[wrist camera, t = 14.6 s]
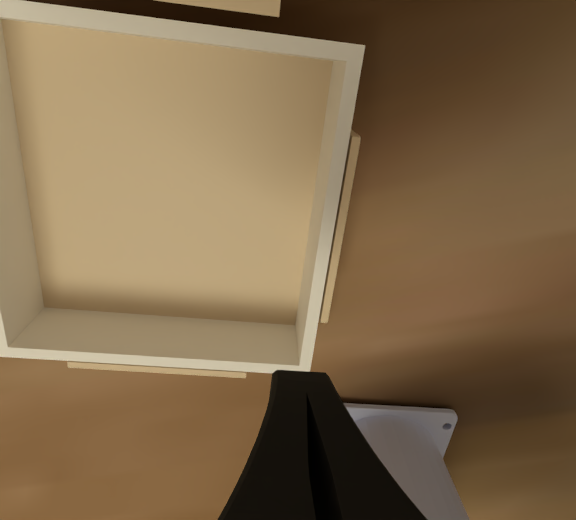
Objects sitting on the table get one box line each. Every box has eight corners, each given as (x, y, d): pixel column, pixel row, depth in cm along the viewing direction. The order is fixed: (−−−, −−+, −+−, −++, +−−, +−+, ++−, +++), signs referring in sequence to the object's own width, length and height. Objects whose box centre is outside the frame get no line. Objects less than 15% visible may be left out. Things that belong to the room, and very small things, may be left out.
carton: (309, 336, 22) (316, 383, 19) (39, 317, 21) (-2, 364, 18) (356, 49, 16) (377, 46, 13) (-10, 2, 15) (-83, -14, 12)
